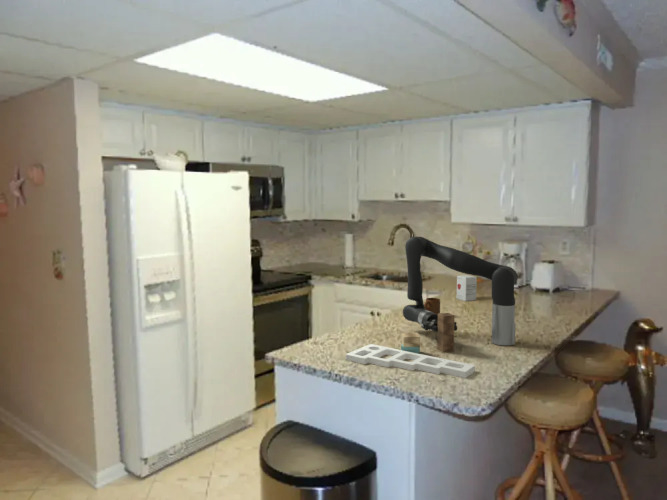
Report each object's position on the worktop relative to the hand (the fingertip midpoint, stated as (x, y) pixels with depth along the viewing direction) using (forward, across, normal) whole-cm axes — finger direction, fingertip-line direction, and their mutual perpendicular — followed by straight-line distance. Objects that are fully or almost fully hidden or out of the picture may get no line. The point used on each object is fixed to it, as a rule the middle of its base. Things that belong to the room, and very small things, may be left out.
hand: (446, 329), depth 201 cm
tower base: (0, -16, +9) cm, 18 cm away
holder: (+13, -23, +10) cm, 28 cm away
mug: (-57, +21, +9) cm, 62 cm away
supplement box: (-96, +64, +9) cm, 115 cm away
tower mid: (0, -16, +5) cm, 17 cm away
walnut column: (-1, 0, +9) cm, 9 cm away
